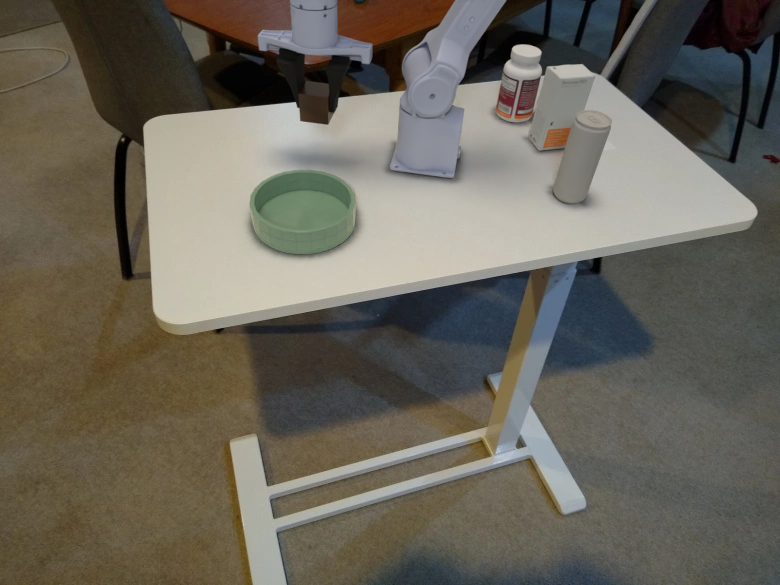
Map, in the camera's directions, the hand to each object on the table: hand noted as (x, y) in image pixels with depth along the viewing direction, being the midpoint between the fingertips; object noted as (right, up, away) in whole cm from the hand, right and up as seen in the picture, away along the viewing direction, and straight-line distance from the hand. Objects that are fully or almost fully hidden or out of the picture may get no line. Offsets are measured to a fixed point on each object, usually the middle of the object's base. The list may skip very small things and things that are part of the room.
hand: (317, 107), depth 79 cm
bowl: (-1, -16, -4) cm, 17 cm away
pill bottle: (+31, +5, +19) cm, 37 cm away
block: (0, -1, +1) cm, 1 cm away
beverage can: (+35, -12, +3) cm, 38 cm away
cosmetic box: (+36, -2, +13) cm, 38 cm away
